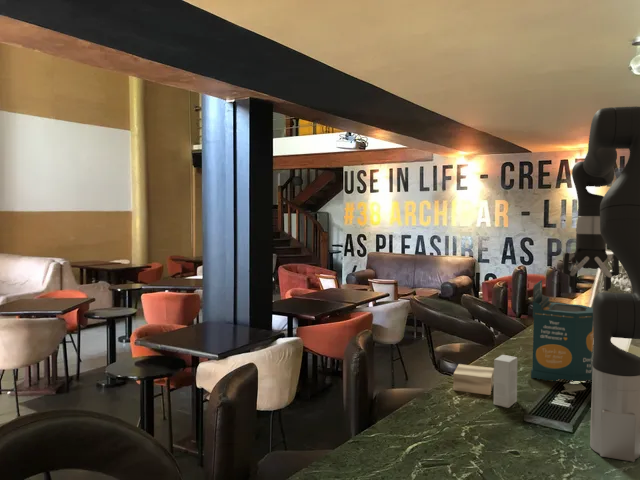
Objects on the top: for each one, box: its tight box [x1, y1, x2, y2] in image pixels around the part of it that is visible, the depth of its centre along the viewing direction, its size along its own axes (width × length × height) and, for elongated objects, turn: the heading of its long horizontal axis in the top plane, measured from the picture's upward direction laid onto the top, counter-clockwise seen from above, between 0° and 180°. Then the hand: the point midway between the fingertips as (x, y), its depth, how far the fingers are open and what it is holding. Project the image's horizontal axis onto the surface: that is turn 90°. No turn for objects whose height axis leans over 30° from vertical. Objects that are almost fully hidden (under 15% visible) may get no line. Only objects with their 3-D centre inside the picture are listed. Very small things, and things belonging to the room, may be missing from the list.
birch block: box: [452, 363, 494, 396], centre depth 151 cm, size 10×10×5 cm
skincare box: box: [493, 354, 518, 408], centre depth 138 cm, size 6×4×12 cm
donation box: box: [530, 280, 594, 382], centre depth 161 cm, size 16×16×28 cm
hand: (589, 289), depth 149 cm, fingers open, 8 cm apart
